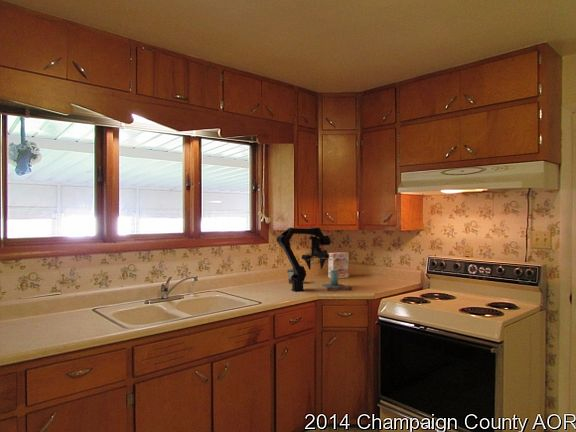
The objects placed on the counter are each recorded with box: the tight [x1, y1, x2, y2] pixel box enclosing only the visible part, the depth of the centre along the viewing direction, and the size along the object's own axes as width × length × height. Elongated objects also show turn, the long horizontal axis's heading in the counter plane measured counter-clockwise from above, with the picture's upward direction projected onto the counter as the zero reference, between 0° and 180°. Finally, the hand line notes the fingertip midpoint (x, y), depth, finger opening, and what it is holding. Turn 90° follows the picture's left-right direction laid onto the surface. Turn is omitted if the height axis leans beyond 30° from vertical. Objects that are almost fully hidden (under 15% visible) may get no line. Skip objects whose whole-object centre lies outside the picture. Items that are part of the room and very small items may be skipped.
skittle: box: [330, 270, 339, 286], centre depth 274 cm, size 5×5×10 cm
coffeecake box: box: [327, 251, 350, 279], centre depth 311 cm, size 15×7×20 cm, turn 119°
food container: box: [286, 268, 294, 285], centre depth 287 cm, size 12×6×10 cm, turn 84°
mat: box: [321, 283, 347, 288], centre depth 274 cm, size 12×12×1 cm
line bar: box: [326, 286, 353, 292], centre depth 261 cm, size 16×2×2 cm, turn 96°
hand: (315, 269), depth 267 cm, fingers open, 9 cm apart
